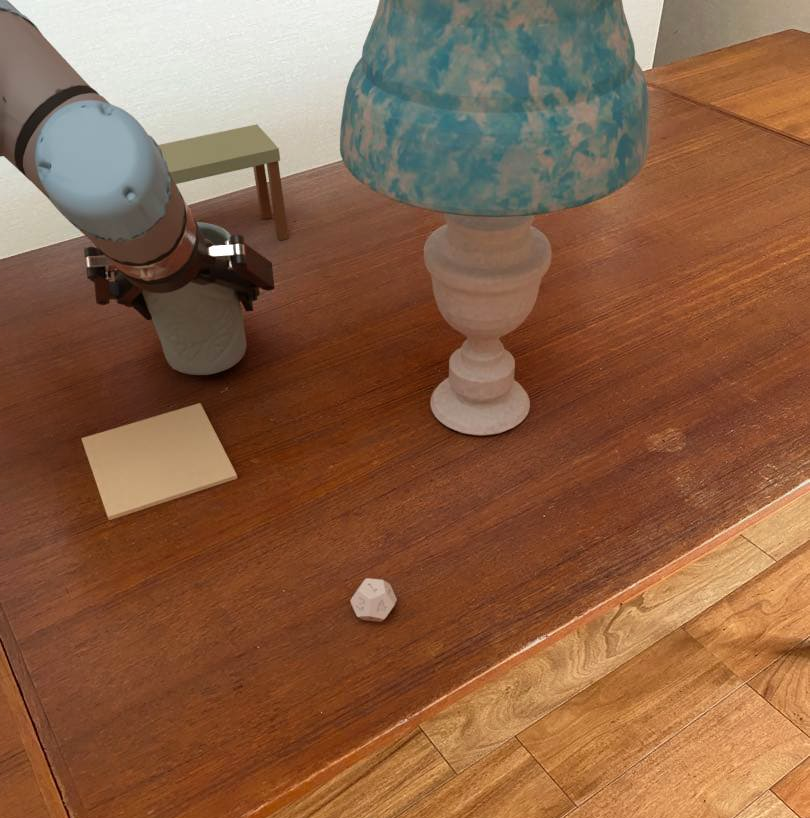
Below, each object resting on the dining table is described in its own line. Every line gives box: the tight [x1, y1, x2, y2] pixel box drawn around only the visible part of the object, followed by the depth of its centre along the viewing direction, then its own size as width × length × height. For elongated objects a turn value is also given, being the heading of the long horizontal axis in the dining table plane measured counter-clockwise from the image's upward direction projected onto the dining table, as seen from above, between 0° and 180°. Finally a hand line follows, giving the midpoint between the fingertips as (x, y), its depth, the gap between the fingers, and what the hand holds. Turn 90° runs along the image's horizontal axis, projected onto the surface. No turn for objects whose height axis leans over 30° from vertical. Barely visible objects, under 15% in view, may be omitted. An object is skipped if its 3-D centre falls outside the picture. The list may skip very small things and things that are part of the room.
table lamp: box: [339, 0, 651, 437], centre depth 72 cm, size 24×24×40 cm
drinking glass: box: [142, 221, 247, 376], centre depth 87 cm, size 10×10×12 cm
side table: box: [158, 124, 289, 241], centre depth 107 cm, size 8×16×12 cm, turn 115°
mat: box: [80, 402, 238, 521], centre depth 82 cm, size 12×12×1 cm
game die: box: [349, 577, 398, 623], centre depth 68 cm, size 4×4×3 cm
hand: (198, 302), depth 91 cm, fingers closed on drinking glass, 10 cm apart
